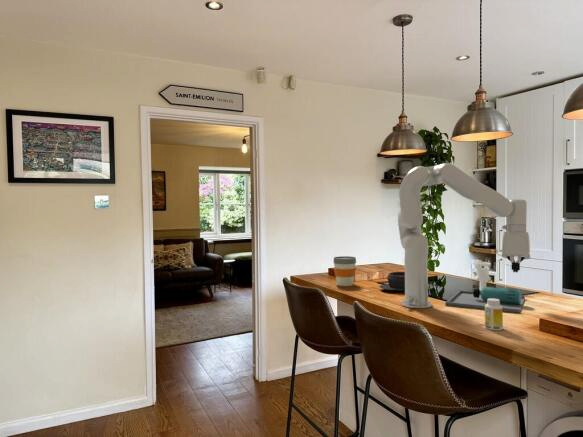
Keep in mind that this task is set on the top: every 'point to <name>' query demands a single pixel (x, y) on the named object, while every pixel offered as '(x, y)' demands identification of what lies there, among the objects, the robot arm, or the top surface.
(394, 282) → the cup and saucer
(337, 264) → the reusable coffee cup
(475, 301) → the grey square tray
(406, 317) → the top surface
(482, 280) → the white tall piece
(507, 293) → the beverage bottle
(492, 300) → the supplement bottle
